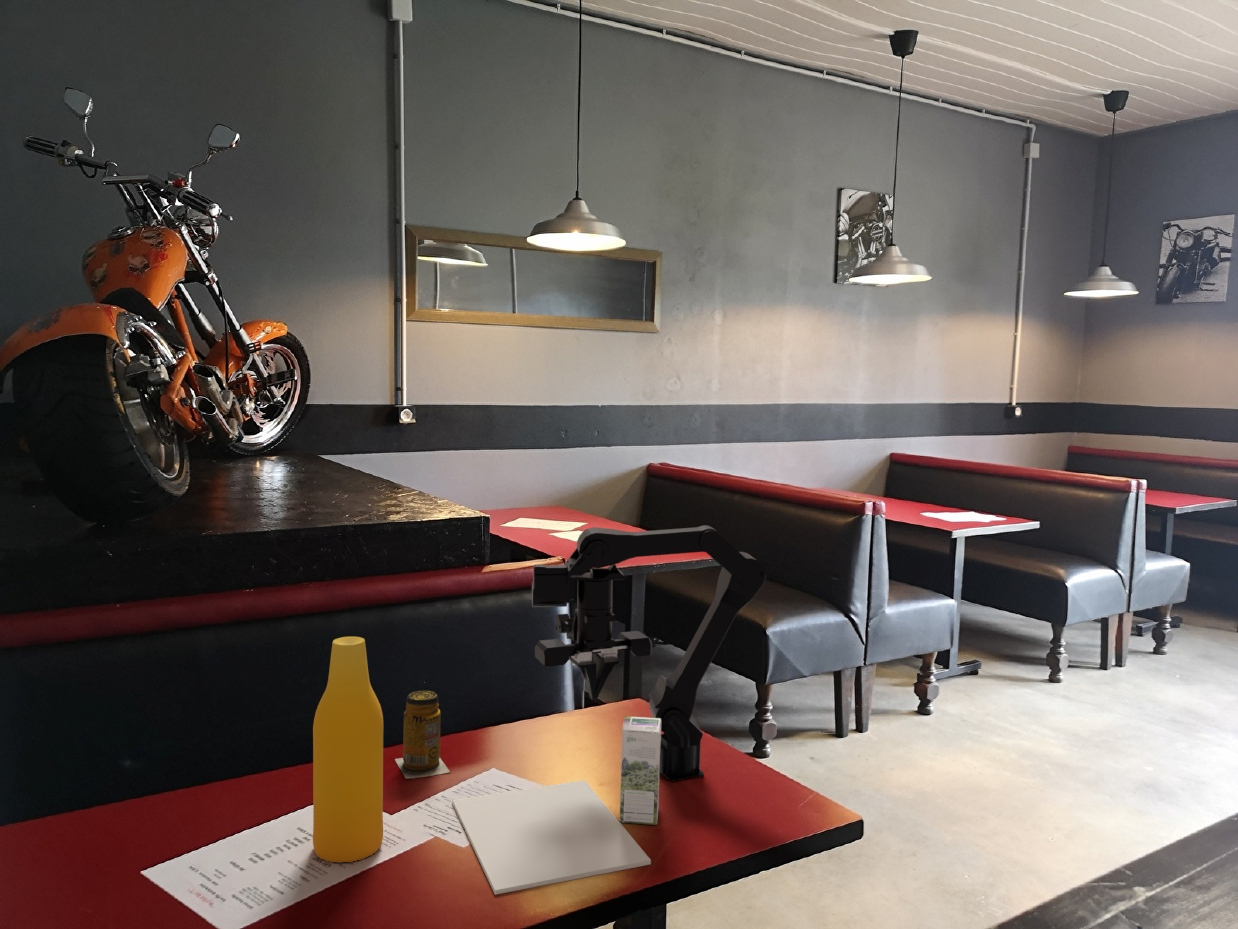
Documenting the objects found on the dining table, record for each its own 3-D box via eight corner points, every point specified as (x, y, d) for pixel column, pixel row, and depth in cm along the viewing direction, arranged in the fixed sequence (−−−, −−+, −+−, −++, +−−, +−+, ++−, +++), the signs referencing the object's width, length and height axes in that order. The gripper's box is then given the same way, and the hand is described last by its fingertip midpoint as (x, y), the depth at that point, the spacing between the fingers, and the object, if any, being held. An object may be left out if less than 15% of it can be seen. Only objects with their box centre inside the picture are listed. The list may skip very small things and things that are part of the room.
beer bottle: (318, 871, 116) (318, 654, 113) (308, 838, 124) (307, 635, 122) (390, 856, 120) (391, 646, 118) (375, 825, 128) (375, 628, 126)
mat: (584, 783, 144) (584, 780, 144) (650, 864, 120) (650, 860, 120) (452, 803, 135) (452, 800, 135) (494, 894, 112) (494, 890, 111)
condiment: (437, 753, 154) (437, 686, 153) (450, 773, 146) (450, 702, 145) (394, 760, 151) (394, 691, 150) (405, 780, 143) (406, 708, 142)
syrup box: (658, 808, 136) (661, 716, 135) (657, 827, 130) (660, 730, 129) (621, 805, 136) (624, 714, 135) (618, 824, 131) (621, 728, 129)
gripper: (627, 591, 156) (626, 677, 157) (525, 599, 149) (524, 690, 150) (654, 605, 146) (652, 698, 147) (546, 615, 138) (545, 712, 140)
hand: (593, 699), depth 146 cm, fingers closed
